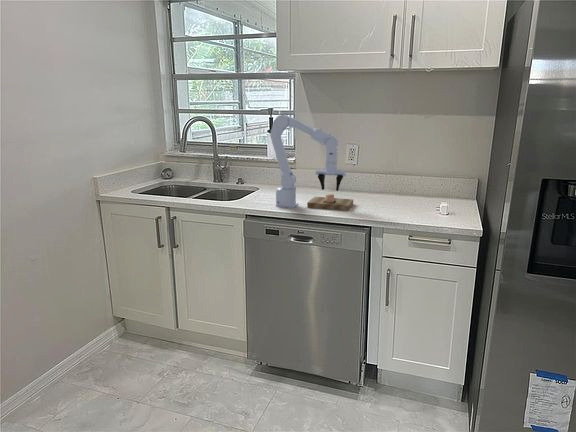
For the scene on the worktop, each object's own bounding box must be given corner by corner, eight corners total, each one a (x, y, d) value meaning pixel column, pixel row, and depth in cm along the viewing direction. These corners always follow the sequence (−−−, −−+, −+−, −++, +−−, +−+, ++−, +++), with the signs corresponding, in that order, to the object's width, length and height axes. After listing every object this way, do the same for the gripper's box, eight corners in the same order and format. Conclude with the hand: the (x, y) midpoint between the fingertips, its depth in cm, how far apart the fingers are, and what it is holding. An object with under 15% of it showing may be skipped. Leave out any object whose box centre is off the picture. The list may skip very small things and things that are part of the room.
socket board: (307, 207, 208) (307, 202, 207) (314, 201, 221) (314, 196, 220) (347, 210, 202) (348, 205, 201) (353, 204, 214) (353, 199, 214)
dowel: (324, 207, 208) (324, 195, 206) (326, 205, 212) (326, 193, 210) (332, 208, 207) (333, 196, 205) (334, 206, 210) (334, 194, 209)
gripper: (314, 162, 202) (313, 190, 206) (344, 164, 198) (343, 192, 201) (317, 160, 208) (317, 187, 212) (347, 161, 204) (346, 189, 208)
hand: (330, 190), depth 207 cm, fingers open, 6 cm apart
